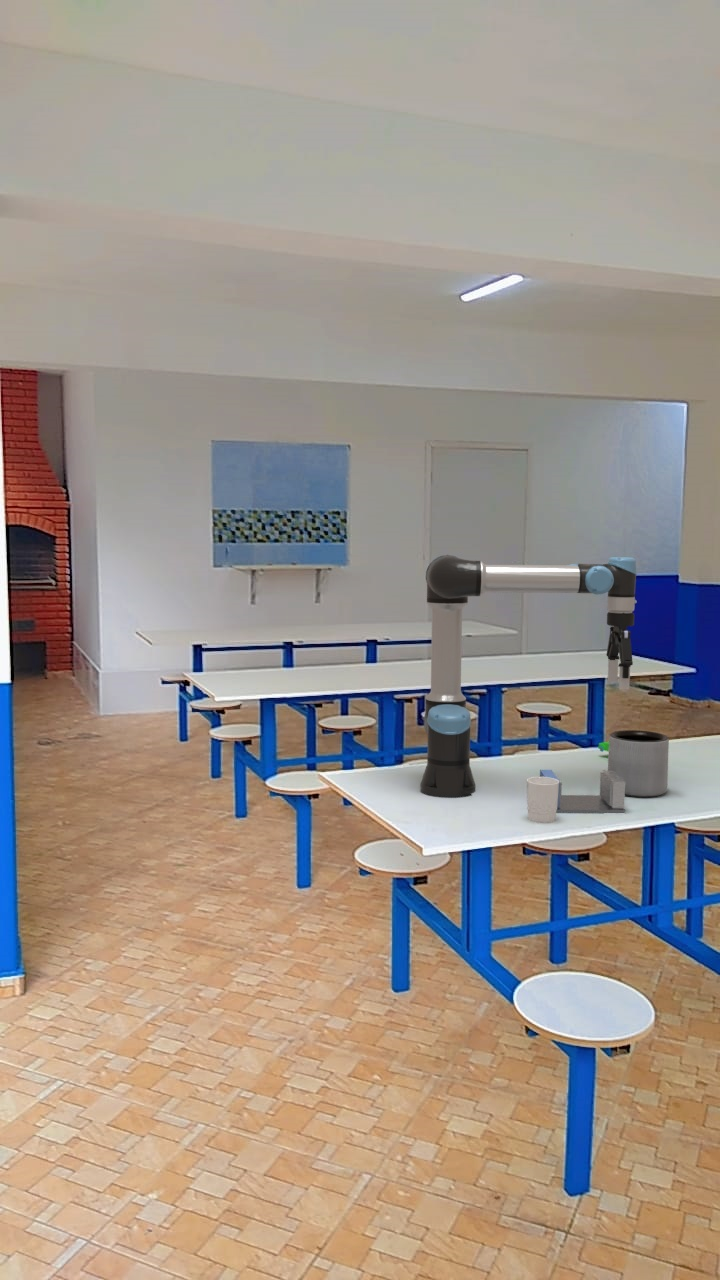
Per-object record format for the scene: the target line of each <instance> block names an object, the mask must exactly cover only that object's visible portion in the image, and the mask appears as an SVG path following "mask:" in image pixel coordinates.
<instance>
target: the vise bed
mask: <svg viewBox="0 0 720 1280" xmlns="http://www.w3.org/2000/svg"><path fill="white" fill-rule="evenodd" d="M604 813H625V814H626V809H625V808H624V809H612V808H611V806H609V805H608V804H607V803H606V801H605V800H604V799H603V798H602V797H601V796H600V794H599V795H593V794H592V795H590V794H589V795H584V794H581V795H580V794H579V795H578V794H577V795H575V794H571V795H570V794H561V806H559V808H557V811H556V814H599V815H600V814H603V815H604Z"/></svg>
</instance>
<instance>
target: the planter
mask: <svg viewBox="0 0 720 1280" xmlns="http://www.w3.org/2000/svg"><path fill="white" fill-rule="evenodd" d="M669 741H670V737H669V736H668V735H665V734H664V733H659V732H656V731H655V732H654V731H649V730H640V729H639V730H637V729H635V730H633V729H631V730H630V729H628V730H625V729H624V730H616V731H613V732H610V733H609V738H608V742H609V751H608V759H607V760H608V761H607V770H614V771H615V772H616V773H617V774H618V775H619V776H620V777H621V778H622V779H623V780H624V781H625V797H626V796H627V797H634V798H652V797H653V798H655V797H660V796H662V795H663V794H665V793H666V792H667V790H668V784H669V781H668V780H669V778H668V777H669V749H670V748H669V747H670V746H669V744H670V742H669Z"/></svg>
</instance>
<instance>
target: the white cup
mask: <svg viewBox="0 0 720 1280" xmlns="http://www.w3.org/2000/svg"><path fill="white" fill-rule="evenodd" d="M559 780H560V779H559ZM559 780H557V779H554V778H549V777H540V776H532V777H528V778H527V779H526V799H527V800H526V801H527V802H526V803H527V805H526V806H527V807H526V809H527V815H528V816H527V818H528V820H529V821H530V822H534V823H535V822H536V823H542V824H543V823H545V824H546V823H553V822H555V821H557V813H556V811H557V804H558V792H559Z"/></svg>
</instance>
